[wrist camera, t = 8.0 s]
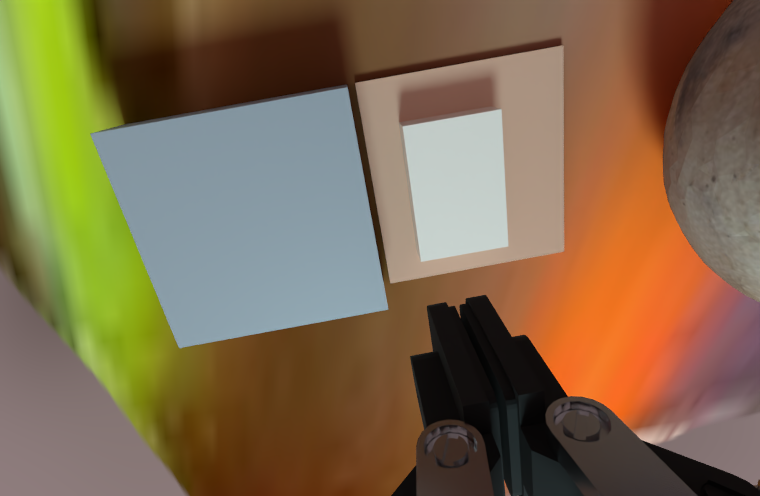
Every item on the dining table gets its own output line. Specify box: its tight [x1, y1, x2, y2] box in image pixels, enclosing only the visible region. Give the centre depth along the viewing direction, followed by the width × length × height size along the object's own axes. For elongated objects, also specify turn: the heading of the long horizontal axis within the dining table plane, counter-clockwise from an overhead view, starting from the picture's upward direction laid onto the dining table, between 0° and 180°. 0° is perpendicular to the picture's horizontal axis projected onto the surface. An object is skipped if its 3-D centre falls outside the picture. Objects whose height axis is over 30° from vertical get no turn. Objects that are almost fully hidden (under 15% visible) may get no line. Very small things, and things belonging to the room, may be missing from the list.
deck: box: [91, 84, 388, 348], centre depth 28 cm, size 14×14×4 cm
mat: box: [355, 45, 564, 283], centre depth 30 cm, size 14×13×1 cm
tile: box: [399, 106, 508, 262], centre depth 29 cm, size 9×6×2 cm, turn 9°
